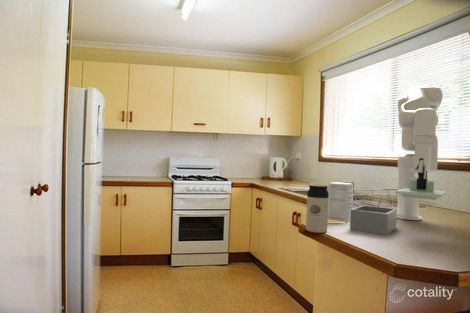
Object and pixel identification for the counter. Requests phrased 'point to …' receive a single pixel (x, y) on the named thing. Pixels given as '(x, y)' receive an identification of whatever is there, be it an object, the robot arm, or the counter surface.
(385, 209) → the tub
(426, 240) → the counter surface
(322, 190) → the travel mug
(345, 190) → the supplement box
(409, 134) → the robot arm
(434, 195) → the lid
